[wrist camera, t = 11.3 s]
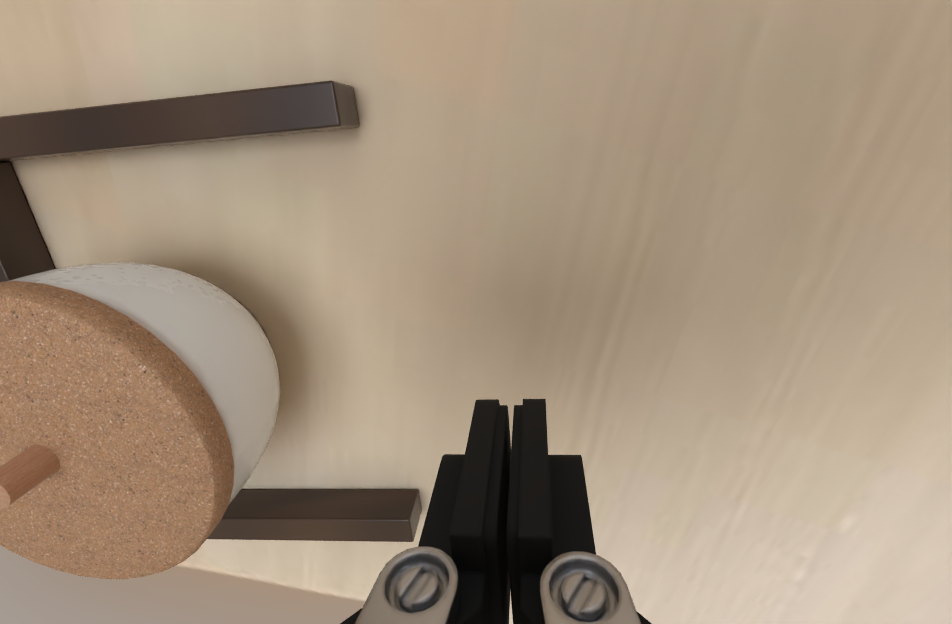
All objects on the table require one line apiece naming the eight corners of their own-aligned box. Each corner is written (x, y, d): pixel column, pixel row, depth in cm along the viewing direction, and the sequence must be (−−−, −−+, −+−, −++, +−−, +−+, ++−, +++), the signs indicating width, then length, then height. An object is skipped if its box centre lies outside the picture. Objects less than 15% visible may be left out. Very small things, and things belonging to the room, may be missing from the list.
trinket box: (76, 214, 20) (-280, 278, 11) (321, 254, 19) (156, 354, 11) (114, 423, 24) (-125, 593, 15) (318, 460, 23) (196, 657, 14)
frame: (353, 85, 17) (332, 79, 15) (421, 510, 24) (413, 542, 22) (-36, 127, 19) (-97, 126, 17) (133, 509, 26) (103, 538, 24)
